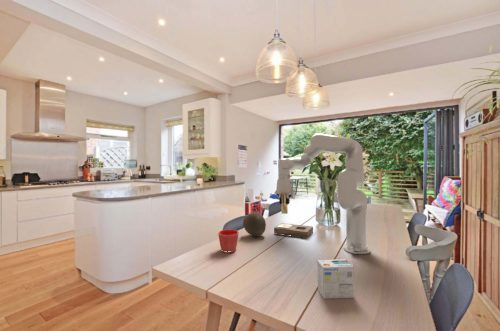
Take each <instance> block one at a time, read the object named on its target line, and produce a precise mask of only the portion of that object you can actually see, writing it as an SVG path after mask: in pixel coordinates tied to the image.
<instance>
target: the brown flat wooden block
mask: <svg viewBox="0 0 500 331" xmlns="http://www.w3.org/2000/svg"><path fill="white" fill-rule="evenodd" d="M274 233H277V234H276V235H278V234H284V235H283V236H285V235H291V236H290V237H292V236H298V237H297V238H300V237H304V238H303V239H308V238H309V237H310V236H311V235H312V234H313V233H314V226H311V225H310V226H309V225H301V224H292V223H285V222H284V223H283V222H281V223H280V224H278V225H277V226H275V227H274V228H273V234H274Z"/></svg>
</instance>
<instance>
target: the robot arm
mask: <svg viewBox="0 0 500 331" xmlns="http://www.w3.org/2000/svg"><path fill="white" fill-rule="evenodd" d="M309 142H310V143H309V144H307V145H306V146H305V147H304V154H302V155H301V156H300V157H288V158H279V159H278V167H277V168H278V178H277V180H276V189H275V191H274V194H275V195H276V196H277V198H278V199H279V202H278V203H279V205H281V194H282V193H284V194H286V195H287V199H286V204H287V206H288V205H289V204H290V199H291V197H293V196H294V195H295V192H294V189H293V182H292V178H293V175H291V173H290V172H291V170H301V169H303V168H305V167H307V166H309V164H311V163H312V162H313V161H314V158H316V157H317V156H319V155H320V154H322V153H324V152H328V153H330V152H331V153H334V154H346V155H345V162H344V163H345V169H343V170H341V171H340V172H339V173H338V175H337V178H336V185H337V187H336V188H337V201H338V204H339V206H340V207H341V209H343V210H345V212H346V214H345V219H346V224H345V225H346V226H345V227H346V228H345V229H346V244H344V245H343V250H344V251H345V252H348V253H350V254H356V255H366V254H367V255H368V254H370V253H371V249H370V247H368V246H367V243H368V242H367V208H368V197H367V196H368V195H367V194H366V193H365V192H364V191H363V190H361V189H358V188H357V187H360V186H362V185H363V184H364V181H365V172H364V170H365V169H364V157H363V156H364V154H363V153H364V152H363V147H362V145H361V144H360V142H358V141H357V140H355V139H353V138H349V137H345V136H337V135H329V134H326V133H314V135H312V136H311V138H310V141H309Z"/></svg>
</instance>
